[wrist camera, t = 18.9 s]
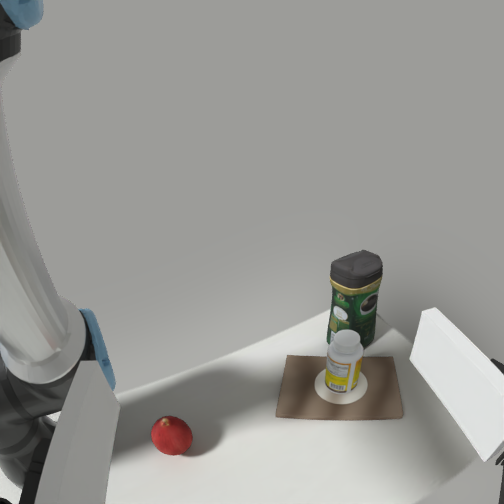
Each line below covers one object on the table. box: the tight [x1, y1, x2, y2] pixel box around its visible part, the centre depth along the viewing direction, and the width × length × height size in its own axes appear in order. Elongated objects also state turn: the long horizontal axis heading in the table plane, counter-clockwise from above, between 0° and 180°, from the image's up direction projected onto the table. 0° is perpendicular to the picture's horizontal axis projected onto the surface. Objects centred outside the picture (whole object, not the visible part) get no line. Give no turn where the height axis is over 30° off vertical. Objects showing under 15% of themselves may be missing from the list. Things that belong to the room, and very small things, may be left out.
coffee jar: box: [327, 250, 383, 348], centre depth 55 cm, size 10×8×19 cm
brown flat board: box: [276, 355, 403, 420], centre depth 47 cm, size 20×14×1 cm
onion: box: [151, 416, 193, 456], centre depth 36 cm, size 6×6×8 cm
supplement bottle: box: [325, 330, 363, 394], centre depth 45 cm, size 6×6×10 cm
